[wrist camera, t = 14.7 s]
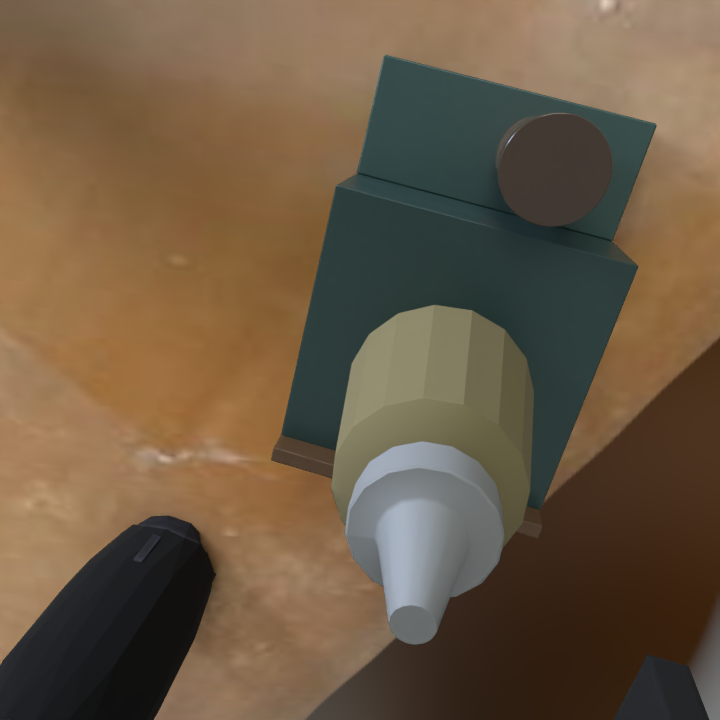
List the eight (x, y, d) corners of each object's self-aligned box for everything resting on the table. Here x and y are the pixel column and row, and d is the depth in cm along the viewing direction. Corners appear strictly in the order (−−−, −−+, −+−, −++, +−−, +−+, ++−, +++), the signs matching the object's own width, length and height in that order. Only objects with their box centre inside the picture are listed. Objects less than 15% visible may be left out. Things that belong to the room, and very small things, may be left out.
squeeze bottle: (554, 317, 31) (650, 553, 15) (490, 461, 34) (508, 791, 18) (389, 260, 32) (300, 426, 15) (340, 408, 35) (218, 684, 18)
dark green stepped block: (392, 59, 38) (361, 40, 27) (638, 122, 37) (706, 127, 26) (317, 378, 45) (270, 460, 35) (521, 436, 44) (538, 539, 34)
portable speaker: (196, 622, 54) (57, 881, 36) (96, 560, 54) (-97, 791, 35) (247, 553, 51) (123, 797, 33) (141, 485, 50) (-45, 697, 32)
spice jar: (508, 101, 34) (518, 99, 27) (598, 124, 34) (630, 128, 27) (481, 192, 36) (484, 211, 29) (566, 215, 36) (589, 239, 29)
